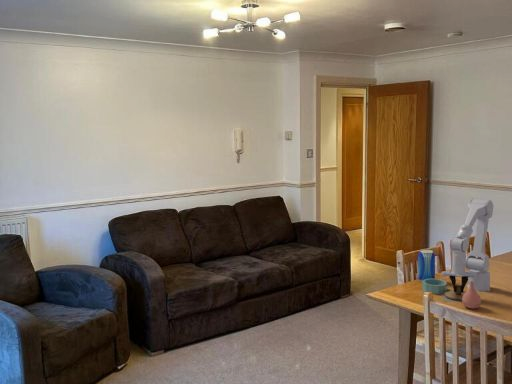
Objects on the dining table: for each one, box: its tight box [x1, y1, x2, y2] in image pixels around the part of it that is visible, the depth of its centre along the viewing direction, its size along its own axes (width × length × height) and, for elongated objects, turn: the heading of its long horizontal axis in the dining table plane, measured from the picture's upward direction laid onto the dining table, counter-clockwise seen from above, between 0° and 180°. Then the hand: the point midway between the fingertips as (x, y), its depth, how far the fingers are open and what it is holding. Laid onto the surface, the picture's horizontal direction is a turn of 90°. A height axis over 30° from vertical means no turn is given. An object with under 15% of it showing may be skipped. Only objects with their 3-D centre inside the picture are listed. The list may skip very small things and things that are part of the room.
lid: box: [445, 284, 467, 300], centre depth 233 cm, size 12×12×5 cm
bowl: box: [421, 278, 448, 295], centre depth 244 cm, size 11×11×4 cm
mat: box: [441, 293, 463, 303], centre depth 234 cm, size 14×14×1 cm
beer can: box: [417, 249, 436, 283], centre depth 258 cm, size 8×8×16 cm
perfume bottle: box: [461, 282, 482, 309], centre depth 219 cm, size 8×8×12 cm
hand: (458, 291), depth 233 cm, fingers closed on lid, 3 cm apart
